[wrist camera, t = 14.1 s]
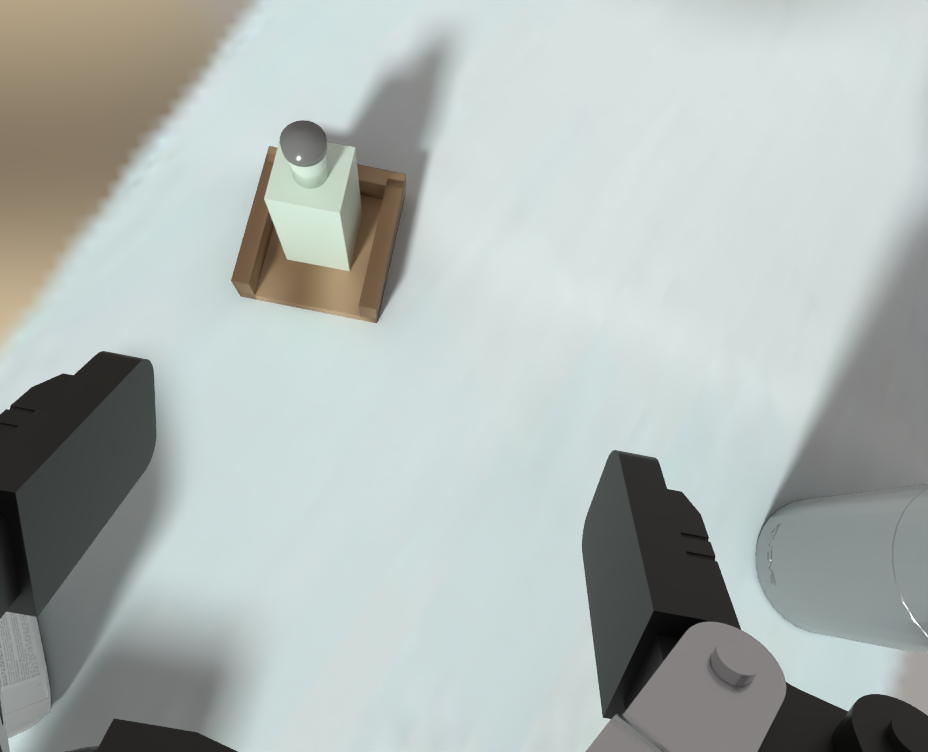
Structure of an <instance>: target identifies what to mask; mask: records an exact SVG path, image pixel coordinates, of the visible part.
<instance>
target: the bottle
mask: <svg viewBox="0 0 928 752" xmlns="http://www.w3.org/2000/svg"><path fill="white" fill-rule="evenodd" d="M264 200H265V202H266V205H267V208H268V210H269V213H270V216H271V218H272V221H273V224H274V226H275V229H276V232H277V234H278V237H279V240H280V242H281V245H282V247H283V250H284V253H285V255H286V258H287V259H288V260H293V261H298V262H303V263H309V264H314V265H319V266H324V267H330V268H335V269H340V270H346V271H350V268H351V263H352V259H353V254H354V250H355V245H356V241H357V236H358V232H359V227H360V223H361V219H362V207H361V198H360V188H359V179H358V169H357V159H356V150H355V147H351V146H346V145H341V144H336V143H331V142H327V140H326V135H325V133H324V131H323V130H322V128H321V127H319V126H318V125H317V124H315V123H313V122H310V121H296V122H293V123H291V124H289V125H288V126H287V127H286V128H285V129H284V130H283V131H282V133H281V136H280V141H279V145H278V148H277V152H276V156H275V160H274V163H273V167H272V171H271V175H270V178H269V182H268V186H267V190H266V193H265V197H264Z"/></svg>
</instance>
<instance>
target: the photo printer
mask: <svg viewBox="0 0 928 752" xmlns="http://www.w3.org/2000/svg"><path fill="white" fill-rule="evenodd" d="M0 684H1V692H2V699H3V707H4V714H5V721H6V729H7V736H8V738H11V737H13V736H15V735H17V734H19V733H22V732H24V731H26V730H28V729H30V728H32V727H33V726H34V725H36V724H37V723H38V722H39V721H40V720H41V719H42V718H43V716H44V715H46V714H48V713H49V712H50V708H51V697H50V685H49V679H48V674H47V667H46V662H45V657H44V652H43V647H42V642H41V637H40V632H39V627H38V623H37V618H36V617H34V616H29V615H23V614H17V613H11V612H5V614H4V615H3V616H2V618H1V619H0Z"/></svg>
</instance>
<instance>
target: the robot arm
mask: <svg viewBox="0 0 928 752" xmlns="http://www.w3.org/2000/svg"><path fill="white" fill-rule="evenodd" d="M155 442H156V415H155V390H154V371H153V366H152V363H151V362H150V361H149V360H147V359H142V358H137V357H131V356H126V355H121V354H116V353H110V352H105V351H102V352H99V353H98V354H97V355H95V356H94V357H93V358H92V359H91V360H90V361H89V362H88V363H87V364H86V365H84V366H83V367H82V368H81V369H80V370H79V371H78V372H77V373H76V374H75V375H74V376H73V375H68V374H61V375H59V376H56V377H54V378H52V379H50V380H47V381H45V382H43V383H40V384H38V385H36V386H34V387H32V388H30V389H29V390H28V391H27V392H26V393H25V394H24V395H22V396H21V397H20V398H19V399H18V400H17V401H15V402H14V403H13V404H12V405H11V407H10V410H7V409H6V410H5V411H4V412H3V413H2V414H0V619H1V618H2V616H3V615H4V614H5V612H11V613H17V614H23V615H29V616H34V617H38V615H39V614H40V613H41V611H42V610H43V609H44V607H45V606H46V604H47V603H48V602H49V600H50V599H51V598H52V596H53V595H54V594H55V592H56V591H57V589H58V588H59V587H60V585H61V584H62V583H63V581H64V580H65V579H66V577H67V576H68V575H69V573H70V572H71V570H72V569H73V568H74V566H75V565H76V564H77V562H78V561H79V560H80V558H81V557H82V555H83V554H84V553H85V551H86V550H87V549H88V547H89V546H90V545H91V543H92V542H93V541H94V539H95V538H96V536H97V535H98V534H99V532H100V531H101V530H102V528H103V527H104V526H105V524H106V523H107V521H108V520H109V519H110V517H111V516H112V515H113V513H114V512H115V511H116V509H117V508H118V507H119V505H120V504H121V502H122V501H123V500H124V498H125V497H126V496H127V494H128V493H129V492H130V490H131V489H132V487H133V486H134V485H135V483H136V482H137V481H138V479H139V478H140V477H141V475H142V474H143V473H144V471H145V470H146V468H147V466H148V464H149V462H150V460H151V458H152V455H153V451H154V447H155ZM708 538H709V537H708V534H707V531H706V528H705V525H704V523H703V520H702V517H701V514H700V513H699V512H698V511H697V509H696V508H695V507H694V506H693V505H692V503H691V502H690V501H689V500H688V499H687V497H686V496H685V495H684V494H683V493H682V492H680V491H674V490H669V489H667V487H666V484H665V481H664V477H663V474H662V471H661V468H660V464H659V462H658V460H657V459H656V458H654V457H648V456H643V455H638V454H633V453H627V452H622V451H617V450H614V451H612V452H611V454H610V455H609V457H608V459H607V462H606V465H605V467H604V470H603V473H602V475H601V478H600V481H599V484H598V486H597V489H596V492H595V494H594V497H593V500H592V503H591V505H590V508H589V511H588V514H587V517H586V520H585V524H584V530H583V538H582V553H583V561H584V569H585V577H586V585H587V593H588V601H589V609H590V617H591V625H592V633H593V641H594V650H595V658H596V666H597V674H598V682H599V690H600V698H601V706H602V714H603V718H609V719H611V720H610V721H609V723H608V724H607V725H606V726H605V728H604V729H603V730H602V732H601V733H600V734H599V735H598V737H597V738H596V739H595V741H594V742H593V743H592V744H591V746H590V747H589V748H588V750H587V751H586V752H928V716H927V715H926V714H924V713H923V712H921V711H920V710H918V709H917V708H915V707H913V706H912V705H910V704H908V703H906V702H904V701H901V700H899V699H897V698H893V697H890V696H886V695H880V694H870V695H866V696H863V697H861V698H859V699H858V700H857V701H856V702H855V704H854V705H853V706H852V707H851V709H850V710H849V711H845V710H843V709H841V708H839V707H837V706H834V705H832V704H830V703H828V702H826V701H823V700H821V699H819V698H817V697H815V696H812V695H810V694H808V693H806V692H803V691H801V690H799V689H797V688H795V687H793V686H791V685H790V684H788V683H787V682H786V681H785V677H784V674H783V672H782V670H781V668H780V666H779V664H778V662H777V661H776V659H775V658H774V657H773V655H772V654H771V653H770V652H769V651H768V650H767V649H766V648H765V647H764V646H763V645H762V644H761V643H760V642H759V641H757V640H756V639H755V638H753V637H752V636H751V635H749V634H747V633H746V632H744V631H742V630H741V628H740V625H739V622H738V619H737V617H736V614H735V611H734V608H733V605H732V602H731V599H730V597H729V594H728V591H727V588H726V585H725V582H724V580H723V577H722V574H721V571H720V568H719V565H718V562H717V561H715V554H714V551H713V548H712V545H711V543H710V542H708ZM756 570H757V574H758V578H759V582H760V585H761V587H762V589H763V591H764V594H765V596H766V597H767V599H768V600H769V602H770V603H771V605H772V606H773V608H774V609H775V610H776V611H777V612H778V613H779V614H780V615H781V616H782V617H783V618H784V619H786V620H787V621H789V622H790V623H792V624H793V625H795V626H796V627H798V628H801V629H803V630H806V631H808V632H812V633H817V634H823V635H828V636H833V637H838V638H843V639H847V640H852V641H857V642H862V643H868V644H873V645H878V646H883V647H889V648H894V649H899V650H905V651H910V652H915V653H920V654H926V655H928V484H921V485H913V486H905V487H898V488H890V489H883V490H875V491H867V492H860V493H852V494H844V495H835V496H828V497H820V498H813V499H805V500H800V501H796V502H792V503H789V504H788V505H786V506H784V507H782V508H780V509H779V510H778V511H776V512H775V513H774V514H773V515H772V516H771V517H770V518H769V519H768V521H767V522H766V524H765V525H764V527H763V528H762V531H761V534H760V536H759V539H758V542H757V548H756ZM0 752H10V749H9V743H8V736H7V729H6V721H5V714H4V707H3V699H2V692H1V684H0ZM66 752H237V751H235V750H233V749H231V748H229V747H227V746H225V745H222V744H220V743H218V742H216V741H214V740H212V739H210V738H207V737H205V736H203V735H201V734H199V733H197V732H191V731H185V730H179V729H173V728H167V727H161V726H155V725H149V724H143V723H137V722H131V721H125V720H119V719H113V721H112V723H111V725H110V727H109V729H108V731H107V732H106V734H105V736H104V738H103V740H102V742H101V744H100V746H95V747H86V748H81V749H76V750H71V751H66Z"/></svg>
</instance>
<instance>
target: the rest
mask: <svg viewBox="0 0 928 752" xmlns="http://www.w3.org/2000/svg"><path fill="white" fill-rule="evenodd" d="M276 152H277V148H276V147H271V146H269V148H268V152H267V155H266V159H265V163H264V166H263V170H262V173H261V177H260V180H259V184H258V187H257V191H256V194H255V198H254V201H253V205H252V209H251V212H250V216H249V219H248V223H247V226H246V230H245V233H244V237H243V240H242V244H241V247H240V251H239V254H238V258H237V262H236V265H235V269H234V272H233V276H232V279H231V281H232V283H233V284H234V286H235V288H236V289H237V291H238V293H239V294H240V296H242V297H247V298H252V299H257V300H262V301H268V302H273V303H278V304H283V305H288V306H293V307H298V308H303V309H308V310H313V311H318V312H324V313H329V314H334V315H339V316H344V317H349V318H354V319H359V320H364V321H369V322H375V323H377V320H378V316H379V311H380V307H381V302H382V298H383V293H384V288H385V284H386V279H387V275H388V270H389V266H390V261H391V257H392V252H393V248H394V243H395V238H396V234H397V229H398V225H399V220H400V216H401V211H402V207H403V202H404V198H405V177H406V174H402V173H397V172H392V171H387V170H382V169H378V168H373V167H368V166H363V165H358V164H357V169H358V179H359V188H360V198H361V207H362V219H361V223H360V227H359V232H358V236H357V241H356V245H355V250H354V254H353V259H352V263H351V268H350V271H346V270H340V269H335V268H330V267H324V266H319V265H314V264H309V263H303V262H298V261H293V260H288V259H287V258H286V255H285V253H284V250H283V247H282V245H281V242H280V240H279V237H278V234H277V232H276V229H275V226H274V224H273V221H272V218H271V216H270V213H269V210H268V208H267V205H266V202H265V200H264V197H265V193H266V190H267V186H268V182H269V178H270V175H271V171H272V167H273V163H274V160H275V156H276Z"/></svg>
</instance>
